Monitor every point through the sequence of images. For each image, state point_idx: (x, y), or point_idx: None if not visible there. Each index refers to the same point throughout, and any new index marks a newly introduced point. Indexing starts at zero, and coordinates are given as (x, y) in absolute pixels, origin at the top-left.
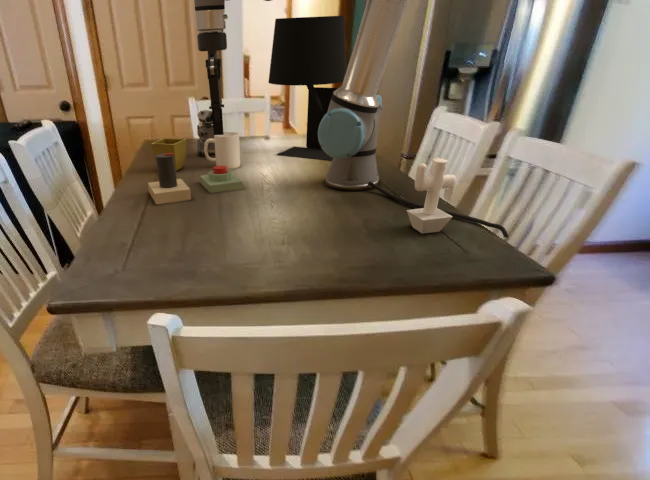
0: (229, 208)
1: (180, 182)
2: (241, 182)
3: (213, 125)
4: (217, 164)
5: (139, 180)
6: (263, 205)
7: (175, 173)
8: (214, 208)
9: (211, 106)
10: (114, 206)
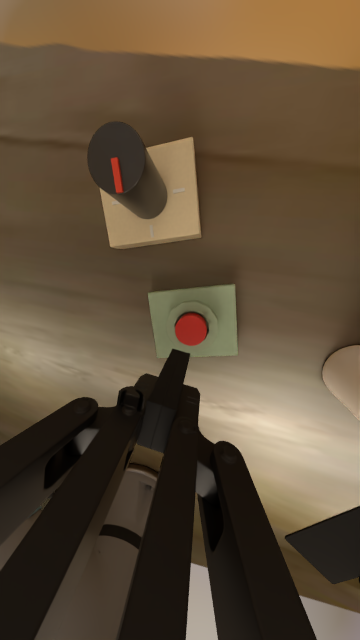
0: (65, 306)
1: (166, 229)
2: (157, 355)
3: (166, 363)
4: (354, 348)
5: (339, 113)
6: (70, 357)
7: (131, 210)
8: (68, 283)
9: (78, 399)
10: (117, 61)
